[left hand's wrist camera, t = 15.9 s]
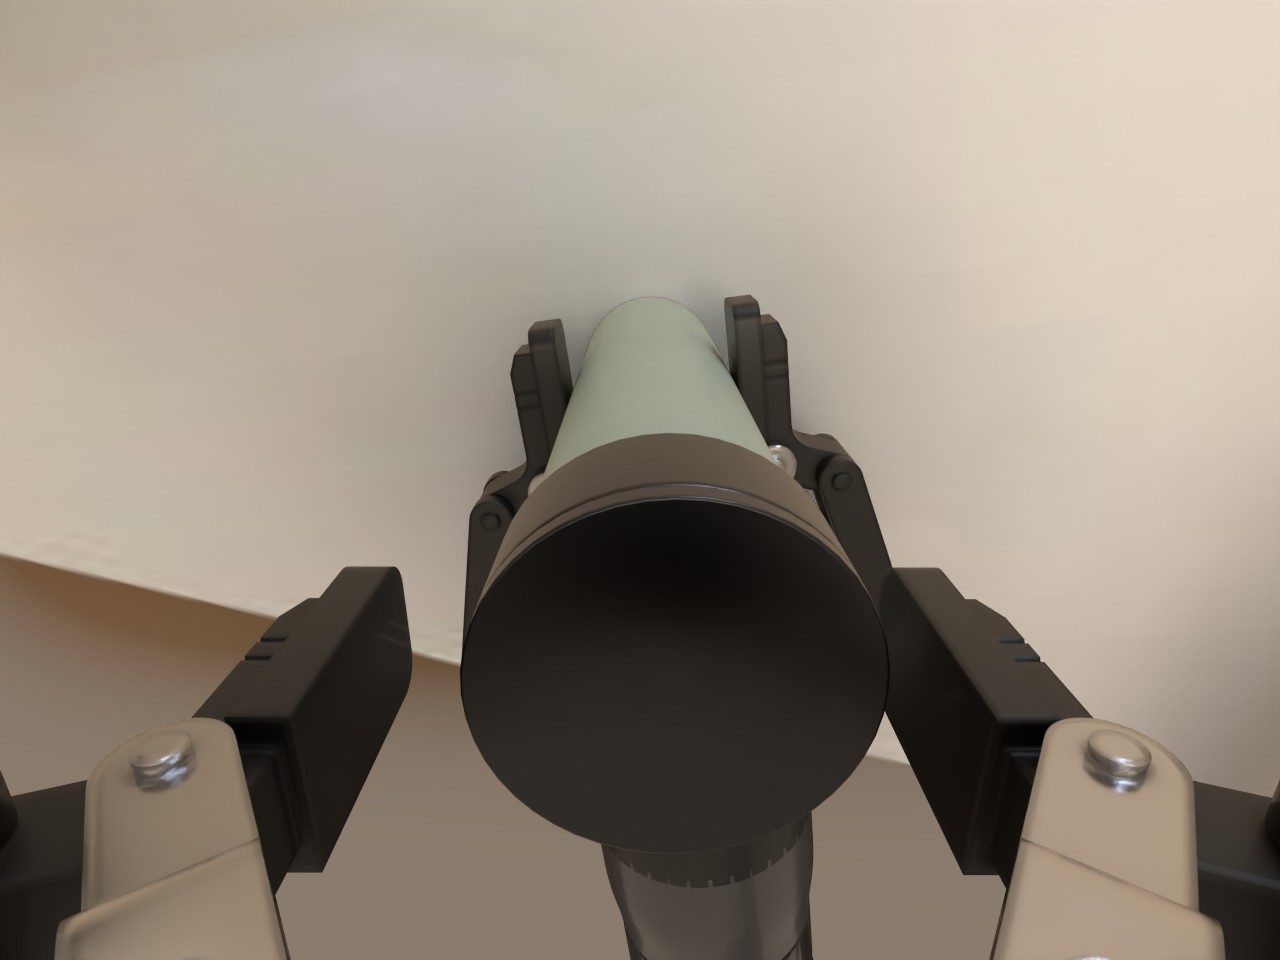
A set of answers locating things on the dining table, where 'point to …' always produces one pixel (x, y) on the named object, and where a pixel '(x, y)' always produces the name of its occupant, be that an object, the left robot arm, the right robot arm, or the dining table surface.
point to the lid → (673, 649)
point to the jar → (652, 384)
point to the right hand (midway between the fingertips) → (641, 315)
